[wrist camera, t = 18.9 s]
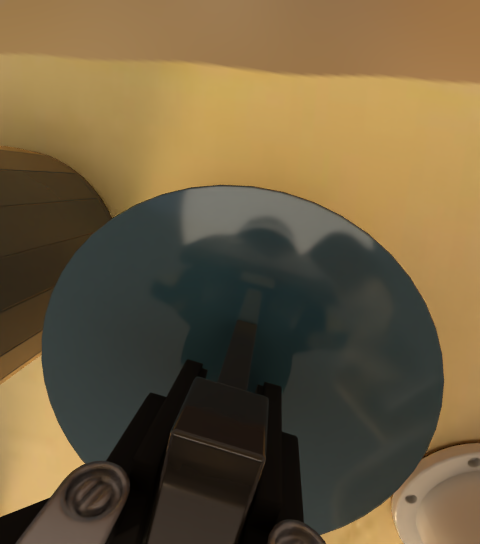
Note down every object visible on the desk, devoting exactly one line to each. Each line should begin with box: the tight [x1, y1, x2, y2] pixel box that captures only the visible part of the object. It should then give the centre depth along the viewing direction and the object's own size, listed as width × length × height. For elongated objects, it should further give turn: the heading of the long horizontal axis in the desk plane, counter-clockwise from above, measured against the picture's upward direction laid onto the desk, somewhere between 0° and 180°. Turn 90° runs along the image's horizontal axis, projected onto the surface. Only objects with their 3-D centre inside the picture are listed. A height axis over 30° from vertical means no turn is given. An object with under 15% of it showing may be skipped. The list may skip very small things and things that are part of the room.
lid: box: [42, 185, 444, 544], centre depth 9 cm, size 14×14×6 cm
